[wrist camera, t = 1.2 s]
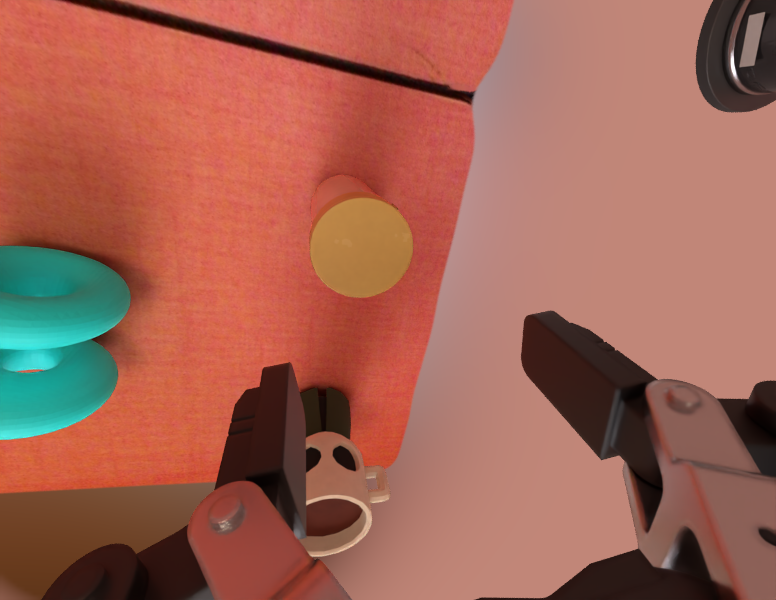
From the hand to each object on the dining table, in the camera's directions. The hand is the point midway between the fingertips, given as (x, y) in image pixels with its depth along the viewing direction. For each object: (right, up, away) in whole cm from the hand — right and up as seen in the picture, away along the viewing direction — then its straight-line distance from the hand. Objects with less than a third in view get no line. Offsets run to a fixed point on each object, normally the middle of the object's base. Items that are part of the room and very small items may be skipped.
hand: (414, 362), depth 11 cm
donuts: (-26, +2, +18) cm, 32 cm away
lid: (-2, +5, +10) cm, 11 cm away
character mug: (-8, -9, +28) cm, 30 cm away
